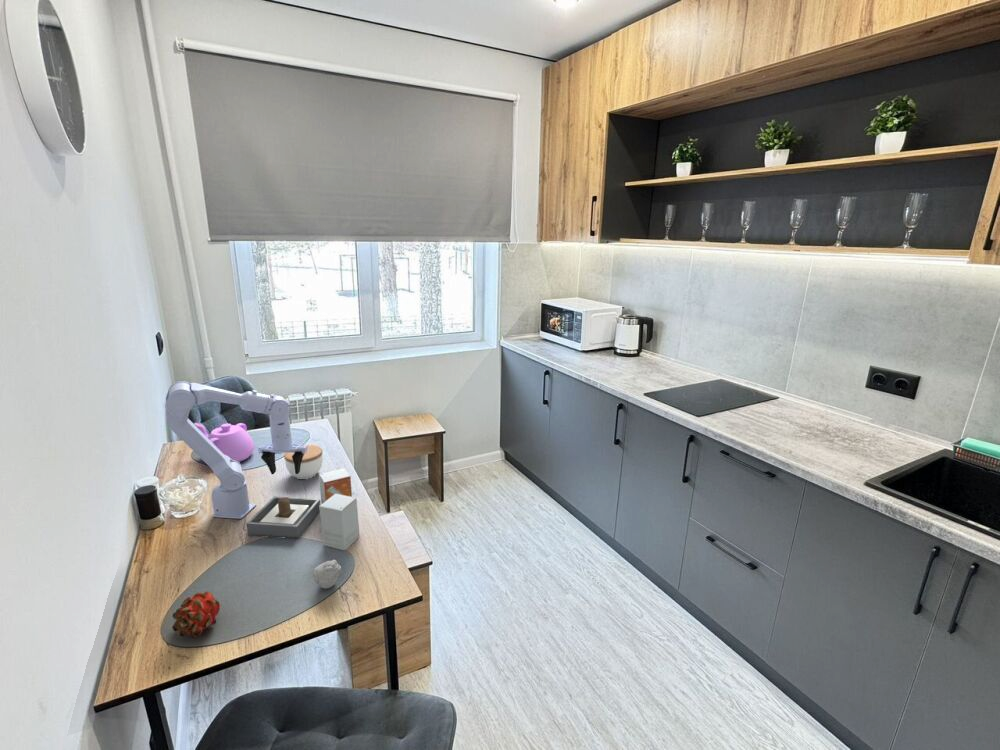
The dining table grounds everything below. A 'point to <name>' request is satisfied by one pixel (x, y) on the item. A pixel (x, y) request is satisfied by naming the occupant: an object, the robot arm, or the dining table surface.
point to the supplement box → (339, 521)
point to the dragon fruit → (196, 614)
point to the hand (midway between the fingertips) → (285, 472)
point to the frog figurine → (327, 574)
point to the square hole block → (277, 526)
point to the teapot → (231, 440)
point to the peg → (284, 507)
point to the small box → (335, 484)
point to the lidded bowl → (305, 462)
